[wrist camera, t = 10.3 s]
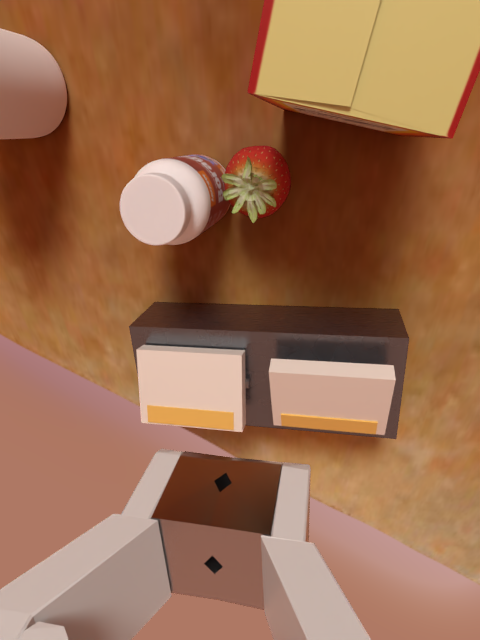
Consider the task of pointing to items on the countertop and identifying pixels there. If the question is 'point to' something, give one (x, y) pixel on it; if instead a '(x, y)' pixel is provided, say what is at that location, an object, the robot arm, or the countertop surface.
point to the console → (282, 343)
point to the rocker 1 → (192, 387)
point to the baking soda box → (370, 62)
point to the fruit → (256, 181)
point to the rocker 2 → (331, 395)
